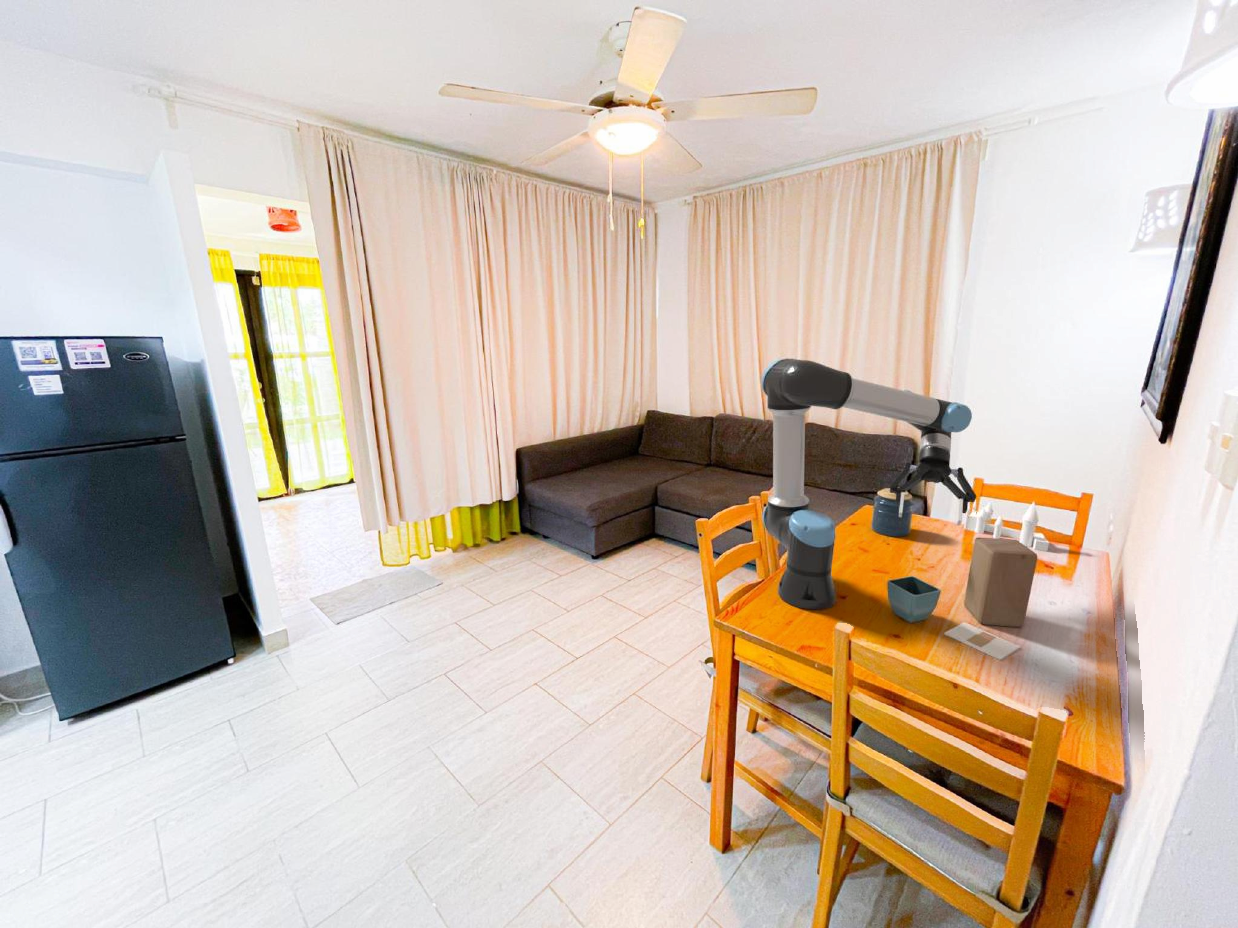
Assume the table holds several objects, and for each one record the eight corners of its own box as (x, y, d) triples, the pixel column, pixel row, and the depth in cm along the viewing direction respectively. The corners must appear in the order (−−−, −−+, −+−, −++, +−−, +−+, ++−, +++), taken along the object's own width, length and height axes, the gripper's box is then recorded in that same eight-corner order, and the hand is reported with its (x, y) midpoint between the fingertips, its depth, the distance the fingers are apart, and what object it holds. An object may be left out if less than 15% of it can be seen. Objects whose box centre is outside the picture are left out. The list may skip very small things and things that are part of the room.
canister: (879, 522, 197) (885, 478, 192) (915, 531, 187) (922, 485, 183) (864, 530, 189) (869, 485, 184) (901, 540, 179) (907, 492, 175)
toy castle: (1046, 552, 168) (1056, 507, 164) (959, 532, 186) (966, 490, 182) (1054, 541, 177) (1063, 497, 173) (970, 522, 195) (977, 482, 191)
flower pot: (882, 611, 133) (886, 580, 131) (908, 605, 136) (912, 575, 134) (909, 628, 125) (914, 595, 123) (937, 622, 128) (942, 590, 126)
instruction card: (944, 634, 123) (944, 632, 123) (963, 623, 127) (964, 621, 127) (1000, 660, 113) (1000, 658, 113) (1019, 647, 117) (1020, 645, 117)
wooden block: (1024, 629, 124) (1040, 554, 120) (979, 625, 126) (993, 551, 122) (1003, 608, 134) (1017, 538, 129) (961, 605, 136) (973, 535, 131)
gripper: (985, 464, 142) (982, 532, 133) (885, 455, 154) (876, 517, 145) (990, 449, 136) (988, 519, 127) (886, 442, 148) (877, 505, 139)
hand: (929, 518), depth 136 cm, fingers open, 13 cm apart
